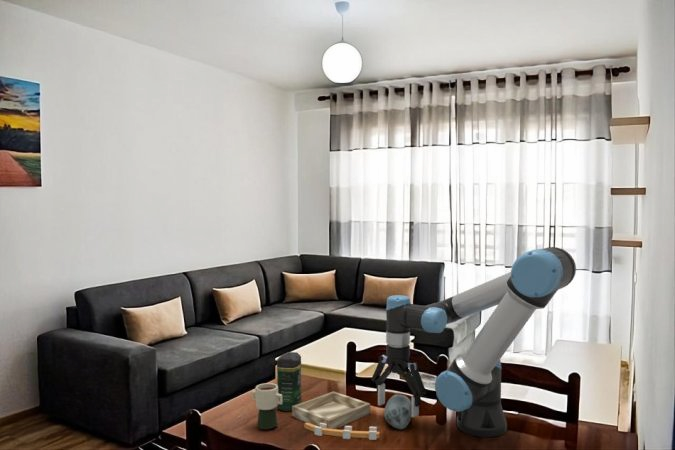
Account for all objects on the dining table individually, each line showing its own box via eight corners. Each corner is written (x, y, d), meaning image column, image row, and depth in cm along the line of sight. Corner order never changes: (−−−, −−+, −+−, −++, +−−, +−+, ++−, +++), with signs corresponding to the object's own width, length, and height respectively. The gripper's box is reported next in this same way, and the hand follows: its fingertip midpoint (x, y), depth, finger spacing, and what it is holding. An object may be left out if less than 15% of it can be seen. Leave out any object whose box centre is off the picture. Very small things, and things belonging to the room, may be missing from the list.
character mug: (288, 425, 171) (287, 385, 170) (277, 434, 164) (276, 392, 163) (258, 420, 175) (257, 381, 174) (246, 429, 168) (245, 388, 168)
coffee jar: (297, 412, 181) (296, 358, 180) (274, 411, 182) (273, 357, 182) (304, 402, 190) (303, 350, 190) (282, 401, 192) (282, 349, 191)
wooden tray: (370, 414, 179) (370, 403, 179) (328, 431, 165) (328, 420, 165) (333, 401, 191) (333, 391, 191) (292, 416, 177) (291, 406, 177)
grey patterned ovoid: (416, 423, 163) (401, 392, 166) (388, 436, 164) (374, 404, 167) (422, 417, 176) (408, 388, 179) (396, 429, 177) (383, 399, 180)
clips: (378, 434, 163) (378, 426, 163) (376, 441, 158) (375, 433, 158) (317, 429, 167) (317, 422, 167) (313, 436, 162) (313, 428, 162)
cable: (380, 436, 162) (380, 431, 162) (377, 441, 158) (377, 437, 158) (305, 426, 170) (305, 422, 169) (301, 431, 166) (301, 427, 166)
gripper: (437, 349, 165) (437, 417, 166) (375, 335, 182) (375, 396, 183) (423, 354, 159) (422, 424, 160) (361, 339, 177) (361, 402, 178)
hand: (397, 409), depth 172 cm, fingers open, 13 cm apart
